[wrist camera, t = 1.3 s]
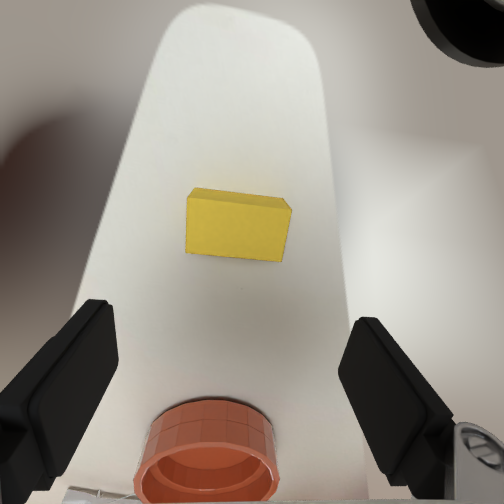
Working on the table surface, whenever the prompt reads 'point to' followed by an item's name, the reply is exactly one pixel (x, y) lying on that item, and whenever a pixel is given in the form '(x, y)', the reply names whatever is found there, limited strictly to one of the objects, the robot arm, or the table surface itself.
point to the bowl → (208, 455)
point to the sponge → (236, 225)
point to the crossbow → (93, 499)
